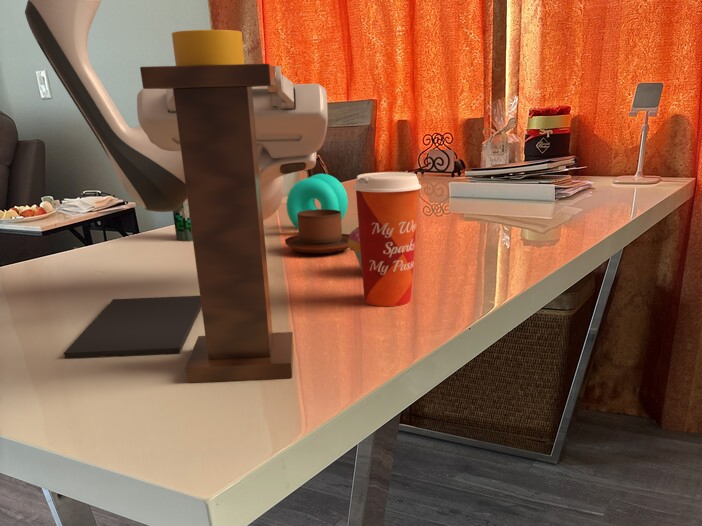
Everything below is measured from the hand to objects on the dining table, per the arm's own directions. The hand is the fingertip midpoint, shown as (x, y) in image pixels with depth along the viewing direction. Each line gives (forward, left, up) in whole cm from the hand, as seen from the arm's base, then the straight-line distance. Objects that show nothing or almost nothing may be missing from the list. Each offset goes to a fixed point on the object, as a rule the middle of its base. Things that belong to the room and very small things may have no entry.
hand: (225, 73), depth 70 cm
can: (-15, +61, -26) cm, 68 cm away
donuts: (+9, +63, -26) cm, 69 cm away
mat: (-13, +3, -26) cm, 29 cm away
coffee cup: (+17, +10, -26) cm, 33 cm away
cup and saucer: (+9, +44, -26) cm, 52 cm away
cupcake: (+17, +26, -26) cm, 41 cm away
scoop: (0, -7, 0) cm, 7 cm away
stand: (0, -12, -26) cm, 28 cm away
